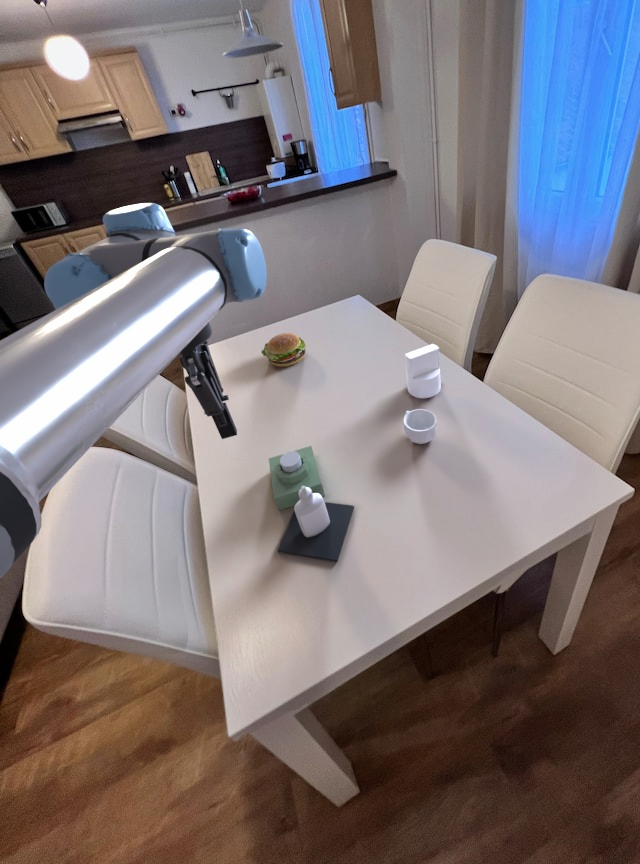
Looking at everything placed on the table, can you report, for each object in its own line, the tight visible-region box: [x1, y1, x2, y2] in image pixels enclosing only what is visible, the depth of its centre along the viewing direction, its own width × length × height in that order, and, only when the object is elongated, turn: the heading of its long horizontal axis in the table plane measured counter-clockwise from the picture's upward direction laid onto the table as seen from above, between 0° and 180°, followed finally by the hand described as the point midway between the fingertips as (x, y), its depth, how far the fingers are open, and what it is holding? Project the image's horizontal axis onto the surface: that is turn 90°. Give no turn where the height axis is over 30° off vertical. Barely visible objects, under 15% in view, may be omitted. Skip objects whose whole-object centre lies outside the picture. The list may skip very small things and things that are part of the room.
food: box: [261, 332, 307, 368], centre depth 132 cm, size 14×14×8 cm
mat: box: [276, 501, 355, 563], centre depth 79 cm, size 12×12×1 cm
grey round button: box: [280, 450, 302, 473], centre depth 86 cm, size 4×4×2 cm
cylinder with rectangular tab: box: [404, 343, 442, 399], centre depth 107 cm, size 9×9×12 cm
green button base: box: [268, 445, 326, 511], centre depth 88 cm, size 12×10×6 cm
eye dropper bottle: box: [293, 486, 330, 537], centre depth 75 cm, size 4×6×12 cm
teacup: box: [402, 408, 438, 445], centre depth 95 cm, size 10×8×5 cm
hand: (229, 434), depth 73 cm, fingers closed
